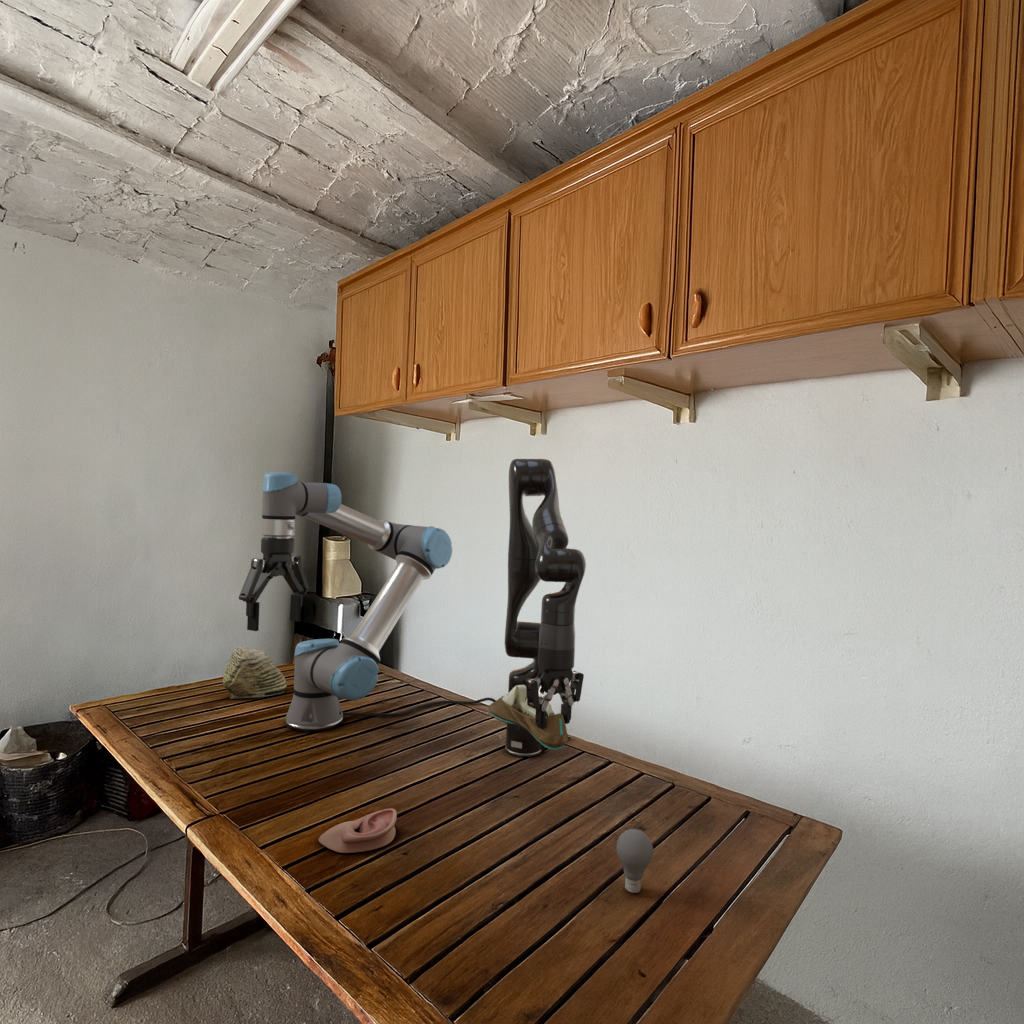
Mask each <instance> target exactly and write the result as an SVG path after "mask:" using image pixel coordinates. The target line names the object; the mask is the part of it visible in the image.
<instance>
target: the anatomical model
mask: <svg viewBox="0 0 1024 1024" xmlns="http://www.w3.org/2000/svg"><path fill="white" fill-rule="evenodd" d="M397 816H398V813H397V810H396V809H395V808H392V807H390V808H384V809H380V810H377V811H374V812H371V813H369V814H366V815H364V816H362V817H360V818H357V819H354V820H348V821H343V822H341V823H339V824H335V825H334V826H332V827H330V828H328V830H326V831H324V832H323V833H322V834H321V835H320V836H319V837H318V842H319V843H320V844H321V845H322V846H324V847H325V848H327V849H329V850H332V851H333V852H336V853H339V854H351V853H361V852H367V851H372V850H376V849H380V848H382V847H385V846H387V845H389V844H390V843H392V842H393V840H394V839H395V837H396V833H397V832H396V827H395V825H396V823H397V818H398V817H397Z"/></svg>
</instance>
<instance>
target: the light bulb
mask: <svg viewBox="0 0 1024 1024" xmlns="http://www.w3.org/2000/svg"><path fill="white" fill-rule="evenodd" d="M615 849H616V854H617V857H618V859H619V861H620V863H621V865H622V867H623V873H624V874H623V875H624V876H625V878H624V888H625V890H627V891H628V892H630V893H634V894H635V893H639V892H640V891H641V889H642V887H641V886H642V879H643V877H644V875H645V871H646V868H647V867H648V866H649V864H650V863H651V861H652V859H653V855H654V847H653V843H652V841H651V838H649V836H648V835H647V834H646V833H645V832H643V831H642V830H641V829H636V828H629V829H627V830H625V831H623V832H622V833H621V834H620V835H619V837H618V839H617V841H616V847H615Z"/></svg>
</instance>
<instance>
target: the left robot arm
mask: <svg viewBox="0 0 1024 1024" xmlns="http://www.w3.org/2000/svg"><path fill="white" fill-rule="evenodd" d="M263 477H264V478H263V481H262V482H263V483H262V490H261V492H262V506H261V507H262V510H261V531H260V535H261V536H263V537H261V539H260V553H261V554H262V558H251V562H250V568H249V571H248V573H247V576H246V578H245V580H244V583H243V585H242V588H241V590H240V593H239V595H238V600H240V601H242V602H244V603H245V615H246V617H247V620H246V622H247V623H246V630H247V631H252V632H259V629H260V628H259V625H260V602H259V601H258V599H259V598H260V597H261V595H262V593H264V590H265V589H266V587H267V585H268V583H269V582H270V581H271V580H272V579H273V578H274V577H280V576H281V577H283V579H284V580H285V582H286V583H287V585H288V586H289V588H290V589H291V591H292V594H290V604H289V605H290V606H289V621H292V622H296V623H297V622H298V623H299V622H301V618H302V617H301V614H302V607H303V597H304V596H306V595H307V594H308V593H307V592H309V591H310V586H309V583H308V580H307V576H306V573H305V571H304V568H303V564H302V563H303V562H302V556H301V555H296V554H294V553H295V539H294V538H293V537H294V536H295V535H296V533H295V531H296V517H297V516H299V517H301V518H304V519H307V520H309V521H312V522H314V523H316V524H319V525H321V526H324V527H326V528H328V529H331V530H333V531H335V532H338V533H340V534H342V535H345V536H348V537H349V538H353V539H355V540H357V541H359V542H363V543H365V544H367V546H368V548H369V549H371V550H373V551H375V552H377V553H380V554H382V555H383V556H386V557H388V558H390V559H392V560H394V561H395V562H396V566H395V568H394V569H393V570H392V572H391V573H390V575H389V576H388V578H387V580H386V581H385V583H384V584H383V586H382V587H381V589H380V591H379V592H378V594H377V596H376V597H375V599H374V600H373V602H371V605H370V606H369V607H368V609H367V610H366V613H365V614H364V616H363V617H362V618H361V620H360V622H359V623H358V625H357V626H356V628H355V630H354V631H353V632H352V634H351V635H350V636H346V637H343V638H342V639H341V641H339V639H337V638H318V639H308V640H304V641H300V642H299V643H297V644H296V646H295V650H294V655H293V657H294V672H293V673H294V674H293V695H292V696H293V697H292V699H291V702H290V704H289V708H288V711H287V713H286V715H285V726H286V728H287V729H289V730H291V731H294V732H295V731H296V732H301V733H316V732H325V731H329V730H332V729H335V728H337V727H339V726H340V725H342V723H343V722H344V717H347V716H349V717H351V716H353V717H354V716H355V717H356V716H357V717H358V716H359V717H399V716H404V715H407V714H410V713H412V712H414V711H416V710H420V709H423V708H427V707H431V706H436V705H444V704H454V705H455V704H456V705H476V704H479V703H482V702H486V701H490V702H492V703H493V702H495V701H496V700H497V699H496V698H493V697H484V698H480V699H477V700H468V701H467V700H438V701H432V702H431V701H430V702H428V703H423V704H420V705H416V706H413V707H412V708H410V709H407V710H404V711H400V712H388V713H387V712H386V713H385V712H347V711H345V712H343V709H342V706H341V702H340V699H341V700H347V701H358V700H361V699H363V698H365V697H366V696H368V695H369V694H370V693H371V692H372V691H373V690H374V689H375V687H376V686H377V683H378V680H379V674H378V673H380V672H379V671H380V670H379V669H380V668H379V666H378V665H379V663H380V662H381V657H380V656H381V655H380V651H381V650H382V648H383V646H384V645H385V642H386V641H387V639H388V637H389V636H390V635H391V633H392V631H393V630H394V628H395V626H396V625H397V623H398V621H399V619H400V618H401V617H402V615H403V613H404V611H405V610H406V608H407V607H408V605H409V603H410V602H411V600H412V598H413V597H414V596H415V594H416V592H417V590H418V588H419V586H420V585H421V584H422V581H424V580H425V581H426V580H429V579H430V578H431V577H432V576H433V574H434V572H435V570H436V569H437V570H438V569H442V568H445V567H446V566H447V565H448V564H449V563H450V561H451V559H452V556H453V546H452V545H453V542H452V540H451V536H450V535H449V534H448V533H447V531H446V530H444V529H442V528H439V527H435V526H423V525H422V526H421V525H412V524H401V523H396V522H391V521H389V520H386V519H379V520H378V519H376V518H374V517H371V516H369V515H367V514H365V513H362V512H360V511H358V510H356V509H353V508H351V507H349V506H347V505H345V504H342V492H341V489H340V488H339V486H337V485H336V484H333V483H327V482H306V481H305V482H302V481H299V480H298V475H297V474H296V473H293V472H292V473H291V472H277V471H268V472H266V473H265V474H264V476H263ZM473 701H474V702H473Z"/></svg>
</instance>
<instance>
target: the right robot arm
mask: <svg viewBox="0 0 1024 1024" xmlns="http://www.w3.org/2000/svg"><path fill="white" fill-rule="evenodd" d="M524 497H544V498H543V499H542V501H541V503H540V504H539V505H538V507H537V508H536V510H535V512H534V514H533V517H532V522H531V521H530V519H529V517H528V514H527V513H526V509H525V505H524ZM508 503H509V506H508V507H509V534H508V547H507V549H508V551H507V605H506V606H507V607H506V616H505V619H506V620H505V629H504V650H505V651H504V652H505V654H506V655H507V656H508V657H509V658H516V659H517V658H518V659H519V658H520V659H532V661H531V662H530V663H529V664H527V665H525V666H521V667H518V668H514V669H513V670H511V671H510V672H509V674H508V685H507V688H508V689H507V694H508V693H509V692H510V691H511V690H512V689H513V688H514V687H515V686H517V685H525V686H526V691H527V703H528V706H530V707H532V708H534V709H535V710H536V715H535V717H536V718H535V723H536V725H537V727H539V728H540V729H545V728H546V712H547V711H545V710H546V708H547V705H548V703H550V702H551V701H552V700H553V697H554V696H555V695H557V694H558V695H559V697H560V700H561V704H560V714H562V715H563V717H564V721H565V725H568V724H570V722H571V720H572V707H573V705H574V703H579V702H580V701H581V695H582V688H583V683H584V677H585V675H584V673H582V672H580V671H577V670H573V669H574V667H575V656H576V608H577V607H576V606H577V600H578V597H579V593H580V589H581V586H582V583H583V581H584V578H585V574H586V570H587V559H586V557H585V554H584V553H583V552H582V550H581V549H578V548H572V547H571V548H568V546H569V544H570V538H569V533H568V530H567V528H566V524H565V521H564V519H563V515H562V511H561V502H560V493H559V487H558V480H557V474H556V470H555V466H554V465H553V463H552V461H550V460H549V459H546V458H515V459H512V460H511V461H510V464H509V469H508ZM541 581H543V582H545V583H564V585H563V587H562V588H561V589H560V590H558V591H553V592H549V593H546V594H544V595H543V596H542V599H541V609H540V610H541V611H540V612H541V613H540V622H537V621H522V620H521V621H520V620H519V617H520V614H521V611H522V610H523V607H524V606H525V604H526V602H527V601H528V599H529V598H530V596H531V595H532V593H533V592H534V591H535V590H536V588H537V587H538V586H539V584H540V583H541ZM545 693H546V694H545ZM542 700H543V702H542ZM541 703H542V704H541ZM505 731H506V733H505V746H504V747H505V748H504V749H505V752H506V753H507V754H509V755H512V756H513V757H514V756H515V757H519V758H531V757H535V756H536V757H537V756H539V755H540V754H541V753H545V749H546V747H545V746H543V745H542V744H541V743H540V742H539V741H538V740H537V739H536V738H535V737H534V736H533V735H532V734H531V733H530V732H529V731H528V730H527V729H525V728H524V727H522V726H521V725H520V724H511V723H507V722H506V730H505ZM569 740H571V736H570V737H568V741H569Z"/></svg>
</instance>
